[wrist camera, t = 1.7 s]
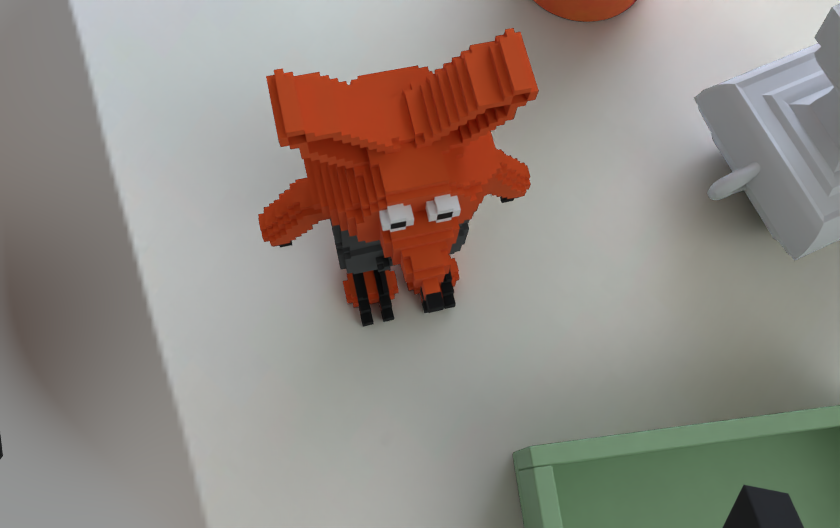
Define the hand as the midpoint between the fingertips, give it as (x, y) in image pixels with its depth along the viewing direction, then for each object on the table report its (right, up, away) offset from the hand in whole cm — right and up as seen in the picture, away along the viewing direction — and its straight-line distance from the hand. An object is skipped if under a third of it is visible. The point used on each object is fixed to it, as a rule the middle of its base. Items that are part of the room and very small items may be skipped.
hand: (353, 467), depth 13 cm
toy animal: (+1, +3, +13) cm, 14 cm away
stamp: (+15, +7, +16) cm, 23 cm away
